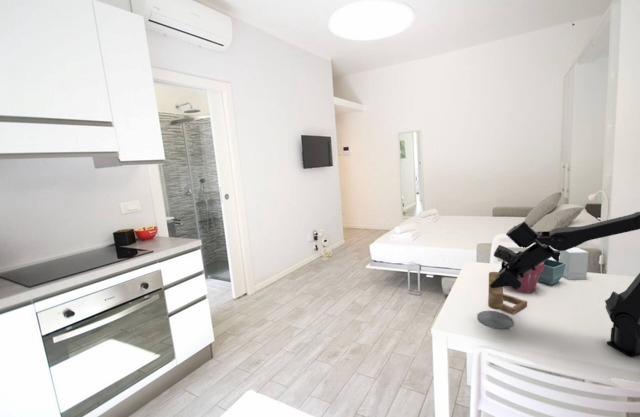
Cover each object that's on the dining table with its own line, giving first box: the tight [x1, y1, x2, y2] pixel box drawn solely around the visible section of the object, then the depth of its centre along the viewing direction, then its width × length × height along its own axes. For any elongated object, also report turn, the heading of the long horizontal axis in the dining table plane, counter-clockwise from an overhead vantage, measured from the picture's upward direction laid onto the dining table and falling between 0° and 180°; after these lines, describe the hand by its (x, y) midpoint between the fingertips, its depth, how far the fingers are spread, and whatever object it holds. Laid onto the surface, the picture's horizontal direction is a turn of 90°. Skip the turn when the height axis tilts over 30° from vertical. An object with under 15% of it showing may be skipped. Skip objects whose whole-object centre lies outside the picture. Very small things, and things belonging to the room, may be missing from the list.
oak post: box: [487, 271, 504, 311], centre depth 104 cm, size 4×4×12 cm
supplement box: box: [559, 247, 589, 281], centre depth 134 cm, size 7×7×13 cm
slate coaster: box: [477, 310, 514, 330], centre depth 106 cm, size 11×11×1 cm
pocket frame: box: [500, 293, 528, 315], centre depth 115 cm, size 9×9×2 cm
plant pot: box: [502, 260, 544, 293], centre depth 127 cm, size 14×14×13 cm
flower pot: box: [537, 258, 565, 286], centre depth 131 cm, size 9×9×9 cm
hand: (491, 284), depth 105 cm, fingers closed on oak post, 4 cm apart
